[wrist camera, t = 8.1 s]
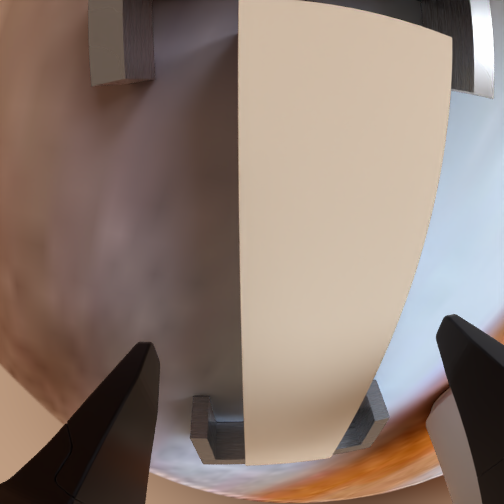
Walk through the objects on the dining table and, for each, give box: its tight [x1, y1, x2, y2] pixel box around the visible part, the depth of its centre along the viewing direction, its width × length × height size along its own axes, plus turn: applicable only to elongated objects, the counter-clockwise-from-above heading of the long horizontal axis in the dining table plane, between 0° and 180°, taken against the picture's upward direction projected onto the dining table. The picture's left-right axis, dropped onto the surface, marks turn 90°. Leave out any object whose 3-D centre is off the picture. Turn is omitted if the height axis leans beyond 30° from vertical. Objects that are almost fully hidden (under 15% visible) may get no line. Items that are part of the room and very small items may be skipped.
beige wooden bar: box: [238, 0, 452, 466], centre depth 9 cm, size 4×16×4 cm, turn 0°
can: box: [426, 388, 482, 504], centre depth 12 cm, size 8×8×12 cm
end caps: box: [88, 0, 494, 464], centre depth 10 cm, size 10×22×2 cm, turn 2°
